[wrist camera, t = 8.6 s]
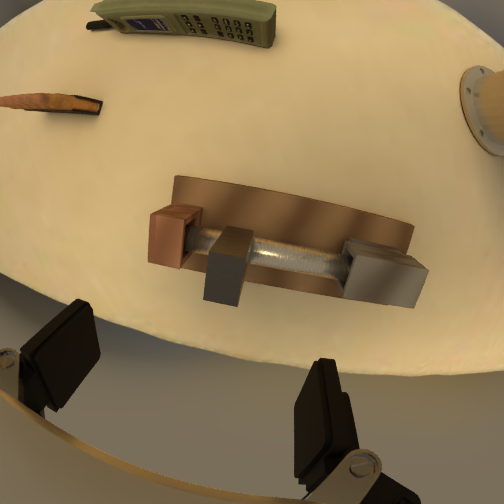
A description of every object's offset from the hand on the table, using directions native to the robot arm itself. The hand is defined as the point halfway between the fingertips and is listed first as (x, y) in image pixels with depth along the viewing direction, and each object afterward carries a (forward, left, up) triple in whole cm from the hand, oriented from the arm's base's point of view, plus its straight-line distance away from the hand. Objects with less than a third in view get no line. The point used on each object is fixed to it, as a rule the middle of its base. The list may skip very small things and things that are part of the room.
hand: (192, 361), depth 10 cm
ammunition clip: (+25, -13, -21) cm, 35 cm away
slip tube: (-3, 0, -16) cm, 17 cm away
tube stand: (-5, 0, -20) cm, 21 cm away
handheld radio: (+13, -23, -21) cm, 34 cm away
